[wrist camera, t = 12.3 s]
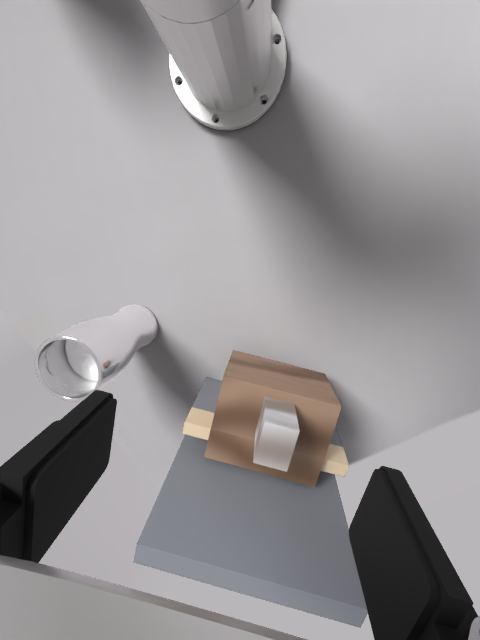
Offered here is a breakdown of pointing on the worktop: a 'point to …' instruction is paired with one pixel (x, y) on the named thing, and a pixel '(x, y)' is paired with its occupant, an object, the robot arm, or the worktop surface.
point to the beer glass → (93, 352)
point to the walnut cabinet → (273, 418)
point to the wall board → (254, 527)
